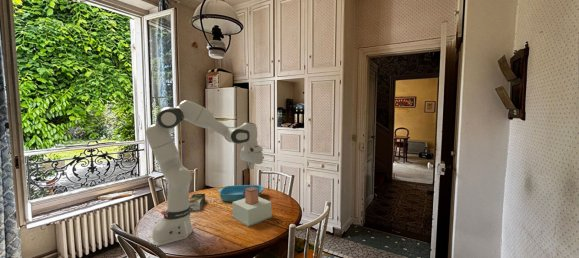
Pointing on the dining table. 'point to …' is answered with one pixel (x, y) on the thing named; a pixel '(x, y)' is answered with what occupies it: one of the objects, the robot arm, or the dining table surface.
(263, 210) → the housing
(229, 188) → the casserole dish
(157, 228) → the robot arm
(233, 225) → the dining table surface
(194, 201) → the juice carton
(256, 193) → the plunger
